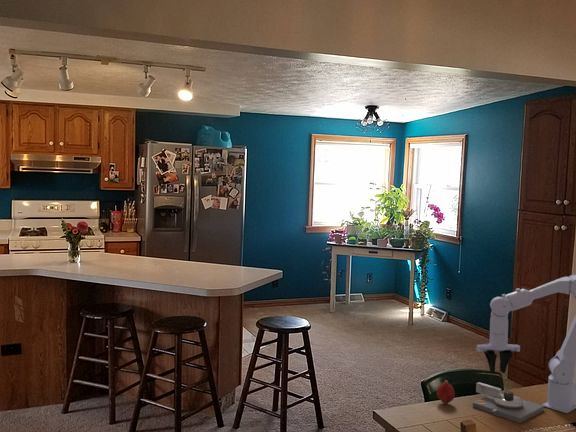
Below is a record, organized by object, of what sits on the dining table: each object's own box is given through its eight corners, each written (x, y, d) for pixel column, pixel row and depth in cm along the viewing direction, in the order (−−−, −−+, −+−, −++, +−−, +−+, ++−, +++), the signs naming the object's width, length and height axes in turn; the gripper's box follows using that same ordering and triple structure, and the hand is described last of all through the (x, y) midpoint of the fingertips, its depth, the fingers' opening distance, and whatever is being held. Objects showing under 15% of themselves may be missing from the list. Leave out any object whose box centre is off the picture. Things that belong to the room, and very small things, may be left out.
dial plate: (543, 410, 176) (544, 405, 176) (517, 424, 165) (517, 418, 165) (497, 395, 188) (497, 391, 188) (470, 407, 177) (470, 402, 177)
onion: (432, 401, 182) (433, 378, 182) (447, 399, 184) (448, 376, 183) (442, 408, 176) (443, 383, 176) (458, 406, 178) (458, 382, 178)
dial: (528, 404, 177) (528, 393, 176) (514, 411, 171) (515, 399, 171) (484, 390, 188) (484, 379, 188) (470, 396, 182) (470, 385, 182)
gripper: (513, 329, 189) (511, 368, 189) (473, 329, 187) (471, 368, 188) (523, 334, 182) (522, 374, 182) (482, 335, 180) (480, 375, 181)
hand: (497, 372), depth 185 cm, fingers open, 3 cm apart
